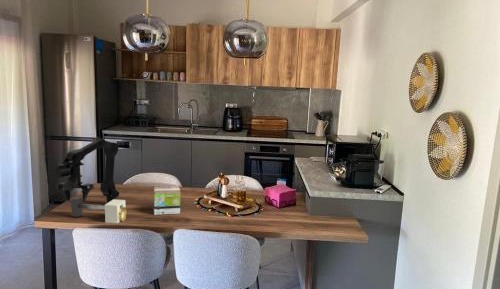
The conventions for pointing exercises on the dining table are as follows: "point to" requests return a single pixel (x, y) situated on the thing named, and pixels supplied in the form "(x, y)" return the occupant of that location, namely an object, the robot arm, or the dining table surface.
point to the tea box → (166, 200)
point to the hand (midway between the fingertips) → (76, 201)
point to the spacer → (121, 213)
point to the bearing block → (113, 211)
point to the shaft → (82, 206)
